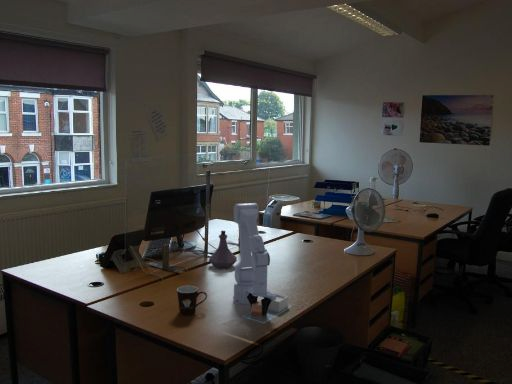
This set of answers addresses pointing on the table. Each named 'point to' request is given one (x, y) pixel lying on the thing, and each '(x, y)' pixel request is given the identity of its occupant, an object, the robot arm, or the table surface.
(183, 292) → the coffee mug
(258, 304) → the terracotta block
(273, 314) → the board
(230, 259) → the flask
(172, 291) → the table surface
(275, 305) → the socket pedestal
